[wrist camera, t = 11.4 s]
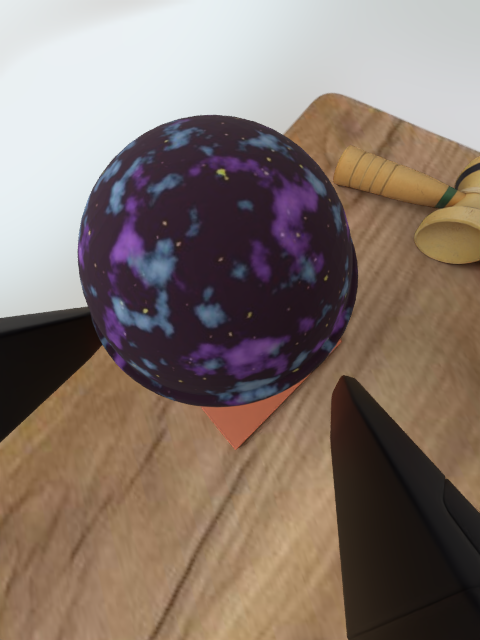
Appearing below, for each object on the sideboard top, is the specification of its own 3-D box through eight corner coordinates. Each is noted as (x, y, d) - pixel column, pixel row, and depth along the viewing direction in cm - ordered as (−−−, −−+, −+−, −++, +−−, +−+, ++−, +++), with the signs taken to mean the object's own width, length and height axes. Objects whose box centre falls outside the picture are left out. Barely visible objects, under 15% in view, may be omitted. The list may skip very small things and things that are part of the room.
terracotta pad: (236, 448, 16) (235, 450, 15) (153, 346, 18) (150, 345, 18) (340, 342, 18) (342, 341, 17) (251, 262, 20) (251, 259, 20)
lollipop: (259, 412, 16) (295, 626, 2) (181, 361, 17) (-160, 243, 3) (303, 331, 18) (528, 78, 3) (229, 290, 19) (148, -17, 4)
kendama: (310, 222, 22) (536, 316, 16) (327, 148, 17) (682, 246, 10) (346, 185, 25) (551, 252, 19) (371, 111, 20) (674, 170, 13)
